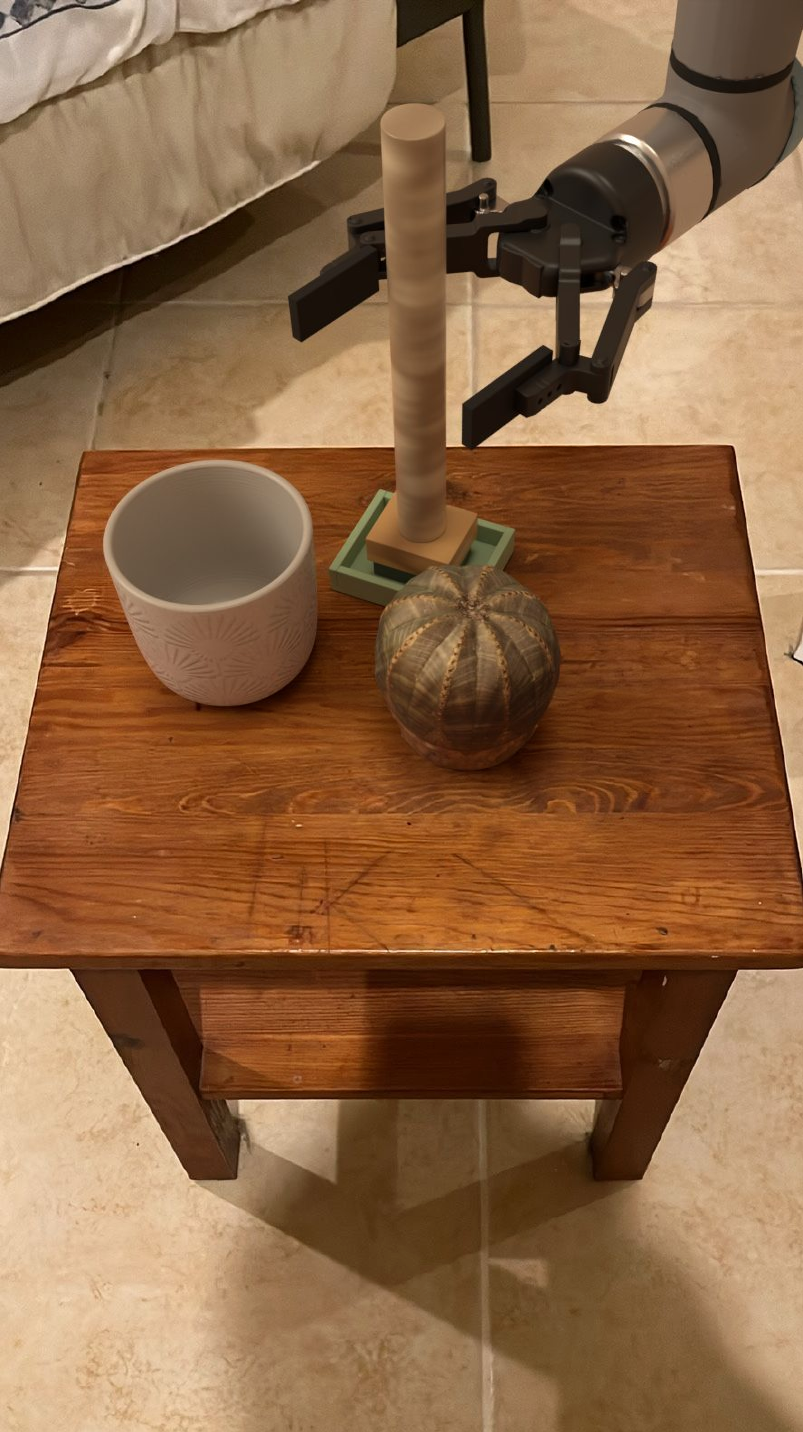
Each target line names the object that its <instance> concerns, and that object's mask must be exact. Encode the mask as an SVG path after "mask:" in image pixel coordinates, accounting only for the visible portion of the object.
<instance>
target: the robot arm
mask: <svg viewBox="0 0 803 1432" xmlns="http://www.w3.org/2000/svg"><path fill="white" fill-rule="evenodd" d="M674 20H675V21H674V29H673V36H672V37H673V38H672V40H671V44H670V53H669V59H668V64H667V68H666V69H667V70H666V78H665V84H664V89H663V90H664V91H663V93H662V96H660V97H658V98H657V99H656V100H654V101H653V102H652V103H650V104H649V105H648V106H646V107H645V108H643V109H642V110H640V111H639V112H638V113H636V114H635V115H633V116H632V117H630V118H628V119H627V120H625V121H624V122H622V123H621V124H619V125H618V126H616V127H614V128H612V129H611V130H609V131H608V132H606V133H605V134H603V135H602V136H600V137H598V138H597V139H596V140H595V141H594V142H592V143H591V144H590V145H587V147H584V148H583V149H582V150H580V151H578V152H577V153H576V154H574V155H572V156H570V158H568V159H566V160H565V161H564V162H562V163H561V164H559V165H558V166H556V167H555V168H553V169H552V170H551V171H550V172H549V173H548V174H547V176H546V177H545V179H544V180H543V181H542V183H541V184H540V186H539V187H538V188H537V190H536V191H535V192H534V194H533V195H532V196H531V197H529V198H525V199H522V200H518V201H514V202H511V203H509V202H508V201H507V200H505V199H503V198H502V197H501V196H499V195H498V194H497V193H498V182H497V180H496V179H494V178H492V177H483V178H480V179H478V180H475V181H474V182H472V183H470V184H468V185H466V186H463V188H460V189H458V190H457V189H456V190H453V191H449V192H446V275H451V274H452V275H453V274H464V273H473V274H474V275H475V276H476V278H479V279H492V278H500V279H503V280H504V281H506V282H508V283H510V284H514V285H516V286H520V287H521V288H523V289H524V290H525V291H526V292H527V293H529V295H531V296H533V297H535V298H537V299H538V300H539V299H541V298H542V297H544V298H551V299H552V298H555V313H554V314H555V344H554V345H555V346H554V347H555V348H554V349H555V351H554V350H553V349H551V348H550V347H548V346H546V345H545V344H542V345H540V346H538V347H537V348H536V349H535V350H533V351H532V352H530V353H529V354H528V355H526V356H525V357H524V358H522V359H521V360H520V361H519V362H517V363H515V364H514V365H513V366H511V367H510V368H509V369H507V370H506V371H504V372H503V373H502V374H501V375H499V376H497V377H496V378H495V379H494V380H492V381H490V382H489V383H488V384H487V385H486V386H484V387H483V388H481V389H480V390H479V391H477V392H476V393H474V394H473V395H472V396H471V397H469V398H467V399H466V400H465V401H464V402H462V403H461V445H462V446H464V447H465V448H466V449H468V450H470V451H473V450H474V449H476V448H477V447H478V446H480V445H481V444H482V443H484V442H485V441H487V440H488V439H489V438H491V437H492V436H493V435H494V434H496V433H497V432H498V431H500V430H501V429H502V428H504V427H505V426H507V425H508V424H509V423H511V422H512V421H513V420H514V419H516V418H517V417H518V416H522V417H523V418H525V419H528V418H532V417H534V416H537V415H538V414H539V413H541V412H542V411H543V410H545V408H547V407H548V406H550V405H551V404H552V403H553V402H555V401H556V400H557V399H558V398H560V397H561V396H569V395H572V394H574V393H575V392H578V393H582V394H586V398H587V401H588V402H590V403H591V404H595V405H600V404H601V405H602V404H604V403H606V402H607V401H608V400H609V397H610V395H611V391H612V389H613V386H614V383H615V380H616V377H617V374H618V372H619V369H620V366H621V363H622V361H623V358H624V355H625V352H626V349H627V346H628V343H629V341H630V338H631V335H632V332H633V329H634V327H635V324H636V323H637V322H638V321H639V320H640V319H641V318H642V317H643V316H644V315H646V313H647V312H648V311H650V309H651V308H652V306H653V300H654V292H655V287H656V280H657V273H658V265H657V264H656V263H654V262H653V261H650V260H651V258H652V257H654V256H655V255H657V254H658V253H660V252H661V251H663V250H664V249H665V248H666V247H668V246H670V245H671V244H672V243H674V242H675V241H676V240H678V239H679V238H681V237H682V236H683V235H685V234H686V233H687V232H689V231H690V230H692V228H694V227H695V226H697V225H698V224H700V223H702V221H703V220H705V219H706V218H707V217H709V216H710V215H711V214H713V213H714V212H716V211H717V210H718V209H720V208H721V207H723V206H725V204H727V203H729V202H730V201H731V200H733V199H734V198H736V197H737V196H739V195H741V194H742V193H743V192H745V191H747V190H749V189H751V188H752V187H755V186H756V185H759V184H760V183H762V182H763V181H764V180H765V179H767V178H768V176H770V174H771V173H772V172H773V171H775V169H776V168H777V167H778V166H779V165H780V164H781V163H782V162H783V161H785V160H786V158H788V157H789V156H790V155H791V154H792V153H794V151H795V150H796V149H797V148H798V146H799V145H800V143H801V142H802V141H803V64H802V62H801V61H800V60H799V59H798V57H797V51H798V48H799V44H800V41H801V37H802V34H803V0H677V4H676V12H675V19H674ZM346 232H347V233H346V234H347V249H348V250H347V251H345V252H344V253H342V254H341V255H339V256H337V257H336V258H335V259H333V260H331V261H330V262H329V263H327V264H325V265H323V266H322V267H321V269H320V271H319V275H318V276H317V277H315V278H314V279H312V280H311V281H309V282H307V283H306V284H304V285H303V286H301V287H300V288H298V289H296V290H295V291H293V292H292V293H291V294H289V295H288V296H287V301H288V310H289V318H290V327H291V334H292V338H293V339H295V340H297V341H298V342H299V343H304V342H305V341H307V339H309V338H311V337H313V336H314V335H316V334H317V333H319V332H320V331H321V330H323V329H324V328H326V327H328V326H329V325H331V324H332V323H334V322H335V321H337V320H338V319H339V318H341V317H343V316H344V315H345V314H347V313H349V312H350V311H352V310H353V309H354V308H356V307H357V306H359V305H360V304H362V303H363V302H365V301H367V300H368V299H370V298H372V297H373V296H374V295H376V294H377V293H379V292H380V281H382V280H383V281H384V280H387V264H386V241H385V218H384V207H381V208H377V209H372V210H368V211H364V212H360V213H359V212H358V213H355V214H352V215H350V216H348V217H347V219H346ZM492 234H497V241H496V251H495V253H496V254H495V257H489V238H490V236H491V235H492ZM610 288H612V294H611V299H612V300H611V304H610V307H609V309H608V312H607V315H606V317H605V320H604V323H603V325H602V328H601V331H600V333H599V336H598V338H597V341H596V344H595V347H594V349H593V352H592V354H591V357H589V356H586V355H581V346H582V345H581V344H582V340H581V295H583V294H591V293H599V292H603V291H606V290H608V289H610ZM554 354H555V355H554Z"/></svg>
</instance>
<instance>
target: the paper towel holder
mask: <svg viewBox="0 0 803 1432" xmlns="http://www.w3.org/2000/svg"><path fill="white" fill-rule="evenodd" d="M379 124H380V148H381V170H382V188H383V189H382V193H383V208H384V218H385V241H386V257H385V258H386V264H387V279H386V281H387V282H386V285H387V304H388V305H387V309H388V329H389V331H388V332H389V353H390V355H389V357H390V375H391V400H392V401H391V402H392V421H393V422H392V424H393V442H394V443H393V445H394V464H395V465H394V468H395V469H394V470H395V491H394V492H393V493H394V494H393V496H392V498H391V499H390V501H389V502H388V504H387V505H386V507H385V509H384V510H383V512H382V513H381V515H380V517H379V518H378V520H377V521H376V523H375V524H374V526H373V528H372V529H371V531H370V532H369V534H368V536H367V537H366V551H367V560H369V561H372V562H373V564H374V574H376V575H379V576H382V577H386V578H389V579H392V580H395V581H398V582H401V583H405V584H406V583H407V582H408V581H409V580H410V579H412V578H414V577H415V576H417V575H419V574H420V573H422V572H424V571H425V570H426V569H427V568H428V567H430V566H442V565H456V566H464V565H465V563H466V561H467V559H468V558H469V556H470V554H471V545H472V544H473V542H474V540H475V538H476V537H477V531H478V518H479V513H477V512H474V511H470V510H468V509H464V508H461V507H457V506H454V505H450V504H448V503H447V274H446V193H447V119H446V116H445V114H444V113H443V111H441V110H440V109H439V108H437V107H436V106H433V105H430V104H426V103H418V102H417V103H416V102H415V103H414V102H411V103H404V104H401V105H397V106H394V107H392V108H390V109H388V110H387V111H386V112H385V113H384V114H383V115H382V117H381V119H380V123H379Z"/></svg>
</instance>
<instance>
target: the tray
mask: <svg viewBox="0 0 803 1432" xmlns="http://www.w3.org/2000/svg"><path fill="white" fill-rule="evenodd" d="M394 493H395V492H391V491H387V490H384V489H381V488H380V489H378V490H377V492H376V493H375V495H374V497H373V498H372V500H371V502H370V503H369V505H368V506H367V508H366V510H365V511H364V513H363V514H362V516H361V517H360V519H359V521H358V522H357V523H356V525H355V527H354V528H353V530H352V531H351V533H350V534H349V536H348V537H347V539H346V541H345V542H344V543H343V546H341V549H340V550H339V552H338V553H337V555H336V556H335V558H334V559H333V561H332V563H331V564H330V566H329V567H328V575H329V584H330V589H331V590H333V591H336V592H339V593H342V594H345V595H348V596H351V597H355V598H357V599H361V600H364V601H367V602H369V603H372V604H376V605H380V606H382V607H386V606H387V605H388V604H389V603H390V601H391V600H392V598H393V597H394V595H395V594H396V593H397V592H398V591H399V590H401V589H402V588H403V587H404V586H405V583H401V582H398V581H395V580H392V579H389V578H386V577H382V576H379V575H376V574H374V564H373V562H372V561H369V560H367V551H366V537H367V536H368V534H369V532H370V531H371V529H372V528H373V526H374V524H375V523H376V521H377V520H378V518H379V517H380V515H381V513H382V512H383V510H384V509H385V507H386V505H387V504H388V502H389V501H390V499H391V498H392V496H393V494H394ZM515 541H516V529H515V528H513V527H510V526H506V525H502V524H498V523H495V522H492V521H489V520H485V519H482V518H479V517H478V531H477V537H476V538H475V540H474V542H473V544H472V545H471V554H470V556H469V558H468V559H467V561H466V563H465V565H464V566H468V565H492V566H494V567H495V568H497V569H498V570H501V571H503V572H504V569H505V568H506V565H507V564H508V562H509V561H510V558H511V556H512V555H513V553H514V551H515Z"/></svg>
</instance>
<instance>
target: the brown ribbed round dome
mask: <svg viewBox="0 0 803 1432" xmlns="http://www.w3.org/2000/svg"><path fill="white" fill-rule="evenodd" d="M384 607H385V606H384ZM377 629H378V630H377V634H376V638H375V646H374V663H375V664H374V671H373V672H374V673H373V675H374V678H375V682H376V684H377V686H378V688H379V690H380V691H381V694H382V697H383V698H384V700H385V702H386V704H387V705H386V708H387V710H388V711H390V713H391V714H392V715H391V718H393V719H394V720H395V721H396V722H397V724H398V727H399V730H400V737H401V738H402V739H404V740H405V741H406V742H407V743H408V744H409V745H410V746H411V748H412V749H413V750H414V751H415V752H416V753H417V754H418V755H420V756H421V757H422V758H423V759H424V760H425V761H426V760H427V761H428V762H430V763H433V764H434V765H436V766H437V767H440V768H444V769H453V770H460V771H477V770H484V769H489V768H492V767H495V766H498V765H500V764H502V763H504V762H506V761H508V760H509V759H511V757H513V756H514V755H515V754H516V753H518V751H519V750H520V749H521V748H522V747H525V746H526V745H527V744H528V742H529V741H530V740H531V738H532V737H533V734H534V733H535V732H536V729H537V728H539V725H538V724H539V723H540V721H541V720H542V718H543V716H544V715H545V713H546V711H547V710H548V708H549V705H550V704H551V702H552V700H553V698H554V695H555V691H556V689H557V686H558V683H559V679H560V674H561V664H562V663H561V662H562V654H561V653H562V651H561V648H560V642H559V638H558V636H557V633H556V630H555V626H554V623H553V621H552V619H551V616H550V613H549V610H548V607H547V605H546V603H544V601H542V600H541V597H539V596H537V595H536V594H535V593H534V592H533V591H532V590H531V589H530V588H528V587H526V586H524V585H521V584H520V582H519V581H518V580H517V579H516V578H515V577H514V576H512V575H510V574H508V573H507V572H505V571H504V570H503V571H501V570H498V569H497V568H495V567H494V566H492V565H468V566H456V565H442V566H430V567H428V568H427V569H426V570H425V571H424V572H422V573H420V574H419V575H417V576H415V577H414V578H412V579H410V580H409V581H408V582H407V583H406V584H405V586H404V587H403V588H402V589H401V590H399V591H398V592H397V593H396V594H395V595H394V597H393V598H392V600H391V601H390V603H389V604H388V605H387V606H386V607H385V608H384V609H383V611H382V613H381V614H380V618H379V622H378V628H377Z"/></svg>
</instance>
